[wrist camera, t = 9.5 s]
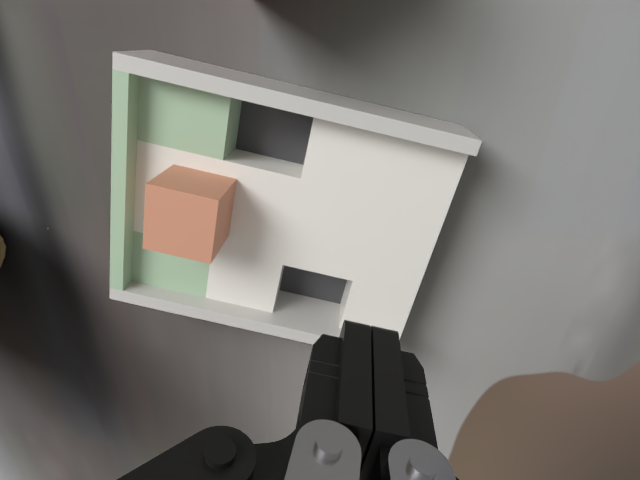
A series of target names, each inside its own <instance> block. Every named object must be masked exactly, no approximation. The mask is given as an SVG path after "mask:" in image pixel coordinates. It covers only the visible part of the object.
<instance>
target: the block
mask: <svg viewBox="0 0 640 480" xmlns="http://www.w3.org/2000/svg"><path fill="white" fill-rule="evenodd" d="M236 182H237V179H235V178H231V177H227V176H222V175H218V174H214V173H210V172H205V171H201V170H197V169H192V168H188V167H184V166H179V165H175V164H173V165H172V166H170V167H169V168H167V169H166V170H165V171H163V172H162V173H160V174H159V175H157V176H156V177H154V178H153V179H151V180H150V181H149V182H147V183H146V186H145V208H144V229H143V249H147V250H151V251H156V252H160V253H165V254H169V255H173V256H178V257H182V258H187V259H191V260H195V261H200V262H204V263H209V264H211V263H212V261H213V260H214V258H215V257H216V255H217V253H218V252H219V250H220V249H221V247H222V246H223V244H224V242H225V241H226V239H227V238H228V236H229V231H230V224H231V217H232V210H233V203H234V196H235V189H236Z"/></svg>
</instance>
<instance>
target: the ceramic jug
mask: <svg viewBox="0 0 640 480" xmlns="http://www.w3.org/2000/svg"><path fill="white" fill-rule="evenodd" d="M47 229H48V228H47ZM5 253H6V244H5V242H4V239H3V238H2V237H1V236H0V268H1V266H2V263H3V261H4V258H5Z"/></svg>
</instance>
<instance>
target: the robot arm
mask: <svg viewBox="0 0 640 480" xmlns="http://www.w3.org/2000/svg"><path fill="white" fill-rule="evenodd" d="M428 397H429V396H428V391H427V387H426V379H425V374H424V368H423V367H422V365H421V364H420V362H419V361H418V359H417V358H416V356H415V355H414V354H413V353H408V352H404V351H401V349H400V341H399V333H398V331H394V330H389V329H385V328H380V327H376V326H370V325H366V324H362V323H357V322H353V321H348V320H344V322H343V325H342V329H341V332H340V336H339V337H335V336H331V335H326V334H322V335H321V336H320V338H319V339H318V340H317V341H316V342H315V343H314V344H313V348H312V352H311V356H310V360H309V364H308V369H307V373H306V377H305V381H304V385H303V391H302V396H301V402H300V408H299V414H298V419H297V424H296V429H295V430H294V431H293V432H292V433H291V434H290V435H289V436H287V437H286V438H284V439H282V440H279V441H276V442H271V443H261V444H253V443H252V441H251V440H250V438H249V437H248V436H247V435H246V434H245V433H243V432H241V431H240V430H238V429H235V428H232V427H228V426H214V427H209V428H206V429H204V430H202V431H200V432H198V433H196V434H194V435H193V436H191V437H189V438H188V439H186V440H184V441H182V442H181V443H179V444H177V445H176V446H174V447H172V448H170V449H169V450H167V451H165V452H164V453H162V454H160V455H158V456H157V457H155V458H153V459H152V460H150V461H148V462H146V463H145V464H143V465H141V466H140V467H138V468H136V469H134V470H133V471H131V472H129V473H128V474H126V475H124V476H122V477H121V478H119V479H117V480H459V479H458V478H457V477H456V476H455V474H454V471H453V468H452V466H451V464H450V463H449V461H448V460H447V458H446V457H445V456H444V455H443V454H442V453H441V452H440V451H439V450H438V447H437V441H436V435H435V430H434V424H433V419H432V413H431V407H430V402H429V400H428Z"/></svg>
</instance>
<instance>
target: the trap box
mask: <svg viewBox="0 0 640 480" xmlns="http://www.w3.org/2000/svg"><path fill="white" fill-rule="evenodd" d="M481 143H482V140H481V139H479V138H478V137H477V136H476V135H474V134H473V133H472V132H470V131H469V130H468V129H467V128H465V127H464V126H463V125H460V124H456V123H452V122H448V121H444V120H440V119H435V118H431V117H427V116H423V115H419V114H415V113H411V112H406V111H402V110H398V109H394V108H390V107H386V106H382V105H378V104H373V103H369V102H365V101H361V100H357V99H353V98H349V97H344V96H340V95H336V94H332V93H328V92H324V91H320V90H316V89H311V88H307V87H303V86H299V85H295V84H291V83H287V82H282V81H278V80H274V79H270V78H266V77H262V76H258V75H254V74H249V73H245V72H241V71H237V70H233V69H229V68H225V67H220V66H216V65H212V64H208V63H204V62H200V61H196V60H192V59H187V58H183V57H179V56H175V55H171V54H167V53H163V52H158V51H154V50H138V51H116V52H113V73H112V151H111V228H110V299H113V300H118V301H122V302H127V303H131V304H136V305H140V306H144V307H149V308H153V309H158V310H162V311H167V312H171V313H176V314H180V315H185V316H189V317H193V318H198V319H202V320H207V321H211V322H216V323H220V324H225V325H229V326H233V327H238V328H242V329H247V330H251V331H256V332H260V333H265V334H269V335H274V336H278V337H282V338H287V339H291V340H296V341H300V342H305V343H309V344H314V343H315V342H316V341H317V340H318V339H319V338H320V336H321V335H322V334H326V335H331V336H335V337H339V336H340V332H341V329H342V325H343V322H344V320H348V321H353V322H357V323H362V324H366V325H370V326H376V327H380V328H385V329H389V330H394V331H398V333H399V340H400V337H401V334H402V332H403V329H404V326H405V324H406V321H407V318H408V316H409V313H410V310H411V308H412V305H413V302H414V300H415V297H416V294H417V292H418V289H419V286H420V284H421V281H422V278H423V276H424V273H425V270H426V268H427V265H428V262H429V260H430V257H431V254H432V252H433V249H434V246H435V244H436V241H437V239H438V236H439V233H440V231H441V228H442V225H443V223H444V220H445V217H446V215H447V212H448V209H449V207H450V204H451V201H452V199H453V196H454V193H455V191H456V188H457V185H458V183H459V180H460V177H461V175H462V172H463V169H464V167H465V164H466V161H467V159H468V156H469V155H472V156H477V153H478V151H479V148H480V146H481ZM173 164H175V165H179V166H184V167H188V168H192V169H197V170H201V171H205V172H210V173H214V174H218V175H222V176H227V177H231V178H235V179H237V182H236V189H235V196H234V203H233V210H232V217H231V224H230V231H229V236H228V238H227V239H226V241H225V242H224V244H223V246H222V247H221V249H220V250H219V252H218V253H217V255H216V257H215V258H214V260H213V261H212V263H211V264H209V263H204V262H200V261H195V260H191V259H187V258H182V257H178V256H173V255H169V254H165V253H160V252H156V251H151V250H147V249H143V229H144V208H145V186H146V183H147V182H149V181H150V180H151V179H153V178H154V177H156V176H157V175H159V174H160V173H162V172H163V171H165V170H166V169H167V168H169V167H170V166H172V165H173Z"/></svg>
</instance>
